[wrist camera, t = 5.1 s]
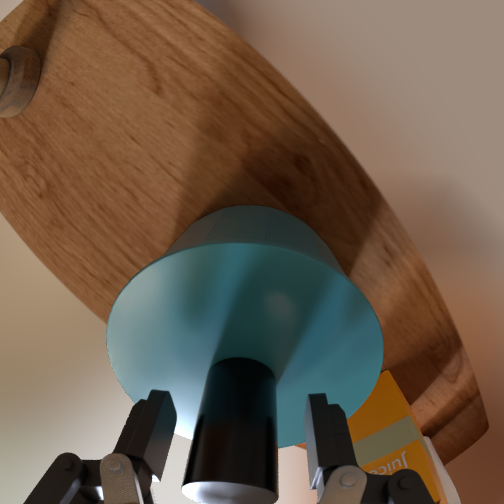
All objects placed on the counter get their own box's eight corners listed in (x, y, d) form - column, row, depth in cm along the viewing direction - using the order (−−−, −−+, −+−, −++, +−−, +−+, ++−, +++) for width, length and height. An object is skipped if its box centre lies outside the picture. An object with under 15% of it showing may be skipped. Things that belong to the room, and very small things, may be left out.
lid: (250, 456, 17) (245, 541, 10) (81, 351, 14) (20, 437, 7) (419, 352, 13) (475, 452, 6) (230, 160, 10) (166, 181, 3)
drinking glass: (424, 426, 27) (458, 513, 13) (438, 437, 28) (468, 512, 14) (383, 452, 29) (405, 539, 15) (401, 460, 30) (422, 535, 16)
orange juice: (352, 436, 27) (379, 581, 8) (318, 405, 25) (342, 593, 6) (411, 405, 25) (463, 548, 7) (389, 367, 23) (460, 556, 4)
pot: (254, 379, 24) (249, 459, 16) (136, 290, 21) (84, 358, 13) (368, 288, 20) (415, 360, 12) (245, 165, 18) (229, 176, 10)
